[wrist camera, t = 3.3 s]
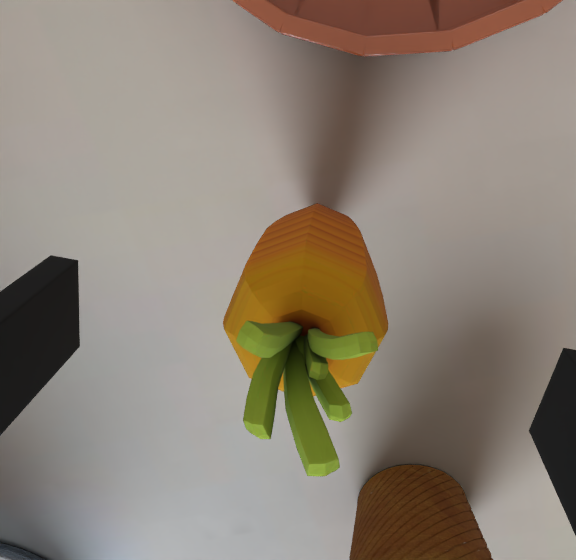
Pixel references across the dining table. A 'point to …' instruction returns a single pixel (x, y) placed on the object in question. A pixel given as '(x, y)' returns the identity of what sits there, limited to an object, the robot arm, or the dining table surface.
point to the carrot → (306, 326)
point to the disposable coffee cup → (415, 518)
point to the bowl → (394, 22)
